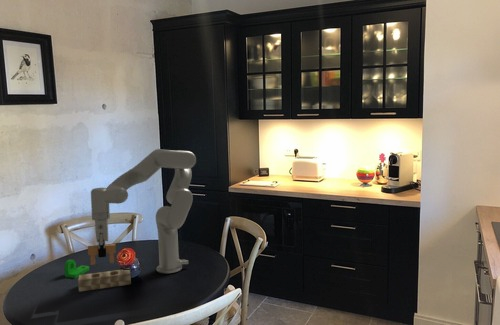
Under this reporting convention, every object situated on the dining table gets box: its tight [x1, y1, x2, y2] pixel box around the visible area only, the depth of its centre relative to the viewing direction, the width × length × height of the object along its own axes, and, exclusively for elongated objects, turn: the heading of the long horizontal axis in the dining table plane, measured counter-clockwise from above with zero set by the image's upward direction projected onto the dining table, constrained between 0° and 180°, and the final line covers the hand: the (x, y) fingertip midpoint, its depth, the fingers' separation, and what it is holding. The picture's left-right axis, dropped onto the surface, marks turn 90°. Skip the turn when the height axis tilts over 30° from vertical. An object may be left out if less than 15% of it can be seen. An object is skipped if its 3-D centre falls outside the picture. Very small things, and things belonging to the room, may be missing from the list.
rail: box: [77, 268, 132, 292], centre depth 188 cm, size 22×7×5 cm, turn 108°
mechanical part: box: [64, 259, 90, 279], centre depth 203 cm, size 12×6×8 cm, turn 164°
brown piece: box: [87, 243, 117, 266], centre depth 186 cm, size 12×3×8 cm, turn 108°
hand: (102, 255), depth 186 cm, fingers closed on brown piece, 3 cm apart
